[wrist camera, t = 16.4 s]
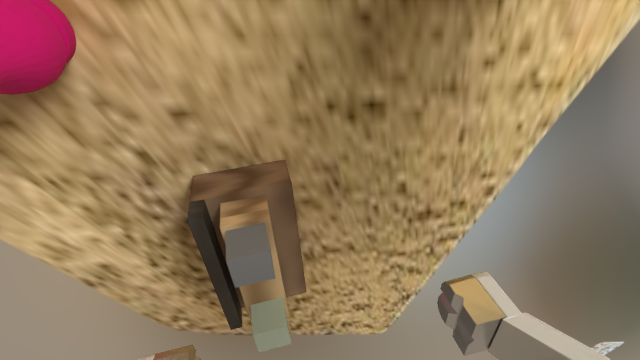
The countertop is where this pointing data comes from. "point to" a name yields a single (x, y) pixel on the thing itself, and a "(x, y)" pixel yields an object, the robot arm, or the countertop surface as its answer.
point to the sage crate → (270, 325)
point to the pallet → (258, 213)
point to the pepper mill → (32, 45)
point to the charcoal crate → (249, 255)
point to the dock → (209, 237)
